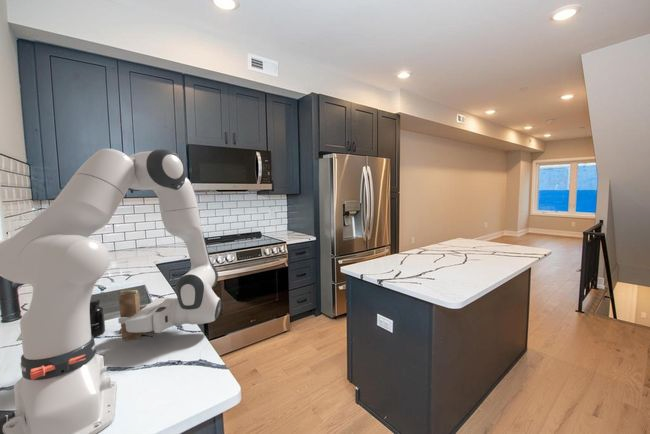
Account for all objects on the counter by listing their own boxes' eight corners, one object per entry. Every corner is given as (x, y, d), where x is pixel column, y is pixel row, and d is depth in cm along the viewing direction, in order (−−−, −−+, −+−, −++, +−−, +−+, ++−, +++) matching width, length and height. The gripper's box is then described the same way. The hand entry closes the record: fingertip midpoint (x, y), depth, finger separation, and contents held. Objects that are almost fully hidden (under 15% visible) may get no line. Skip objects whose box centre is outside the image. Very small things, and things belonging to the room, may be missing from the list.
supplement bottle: (91, 340, 95) (88, 305, 94) (74, 338, 96) (71, 303, 96) (110, 330, 102) (107, 297, 101) (94, 329, 103) (92, 296, 102)
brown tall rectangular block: (142, 335, 98) (138, 289, 97) (138, 338, 95) (134, 291, 94) (126, 336, 97) (123, 290, 96) (122, 339, 95) (118, 292, 94)
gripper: (182, 292, 107) (144, 294, 106) (155, 315, 86) (106, 317, 85) (184, 309, 107) (145, 311, 106) (156, 335, 87) (108, 338, 86)
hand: (127, 314), depth 96 cm, fingers open, 7 cm apart
